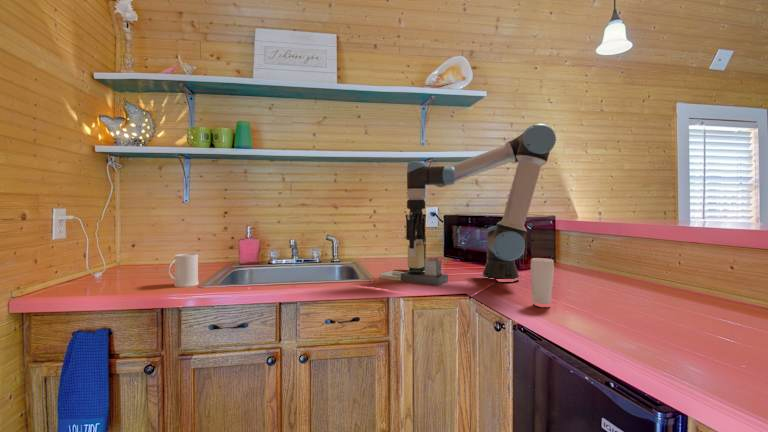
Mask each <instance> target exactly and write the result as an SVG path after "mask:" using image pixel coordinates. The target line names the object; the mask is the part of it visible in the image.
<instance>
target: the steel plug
mask: <svg viewBox="0 0 768 432" xmlns="http://www.w3.org/2000/svg"><path fill="white" fill-rule="evenodd" d="M442 261H443V260H442V259H439V258H438V257H429V258H428V259H426V260H425V276H431V277H439V276H441V274H442V266H443V264H442Z"/></svg>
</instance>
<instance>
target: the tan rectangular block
mask: <svg viewBox="0 0 768 432" xmlns="http://www.w3.org/2000/svg"><path fill="white" fill-rule="evenodd" d="M422 267H424V245H421V243H416V257H412V256H409V245H407V268H408V269H409V268H422Z"/></svg>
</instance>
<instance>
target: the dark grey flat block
mask: <svg viewBox="0 0 768 432" xmlns="http://www.w3.org/2000/svg"><path fill="white" fill-rule="evenodd" d="M403 272H404V273H401V280H400V282H405V283H406V282H407V283H414V284H419V285H420V284H421V285H427V286H428V285H429V286H437V287H440V286H442V285H444V284H446V283H448V282H449V274H445V273H441V276H439V277H431V276H425V272H420V271H409V270H408V271H403Z"/></svg>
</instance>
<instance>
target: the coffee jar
mask: <svg viewBox="0 0 768 432" xmlns="http://www.w3.org/2000/svg"><path fill="white" fill-rule="evenodd" d="M416 239H417V234H416V235H415V241H416ZM422 245H424V267H422V268H409V267H408V271H420V272H423V271H425V260H427V237H426V236H425V239H422Z"/></svg>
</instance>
